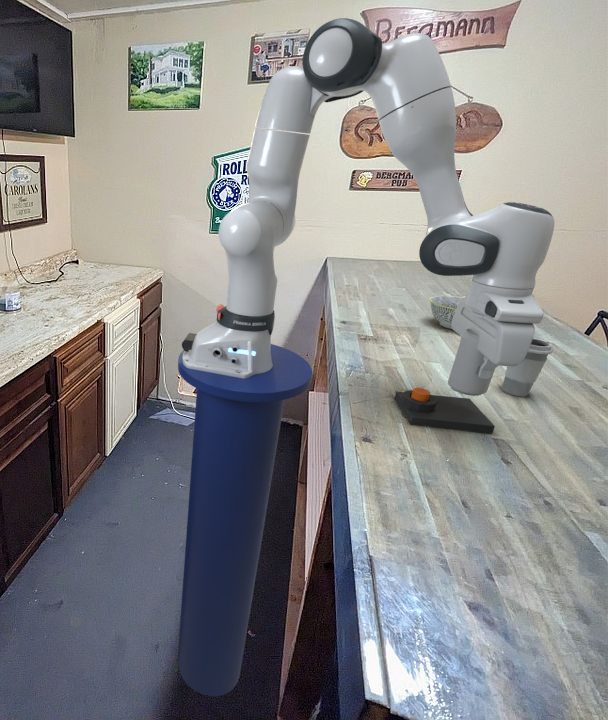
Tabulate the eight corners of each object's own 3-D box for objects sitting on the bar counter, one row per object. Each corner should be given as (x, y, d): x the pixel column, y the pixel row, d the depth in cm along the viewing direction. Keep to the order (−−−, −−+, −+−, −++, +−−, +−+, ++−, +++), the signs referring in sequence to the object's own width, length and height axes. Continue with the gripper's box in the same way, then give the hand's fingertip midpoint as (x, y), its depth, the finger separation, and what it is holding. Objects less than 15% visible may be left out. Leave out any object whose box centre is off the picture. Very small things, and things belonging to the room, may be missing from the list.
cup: (541, 400, 98) (563, 349, 93) (506, 397, 99) (526, 346, 94) (521, 385, 104) (541, 336, 99) (489, 383, 105) (507, 334, 101)
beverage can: (487, 400, 85) (509, 341, 81) (447, 392, 88) (465, 334, 84) (483, 387, 91) (504, 330, 86) (445, 379, 93) (463, 324, 89)
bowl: (480, 322, 144) (487, 299, 141) (489, 338, 131) (497, 314, 128) (421, 315, 151) (427, 293, 148) (424, 329, 138) (431, 306, 135)
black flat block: (408, 424, 89) (412, 408, 88) (392, 397, 99) (395, 383, 98) (492, 433, 86) (498, 417, 85) (467, 405, 96) (472, 390, 95)
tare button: (413, 401, 91) (415, 393, 90) (408, 394, 94) (411, 386, 93) (430, 403, 91) (432, 395, 90) (425, 396, 93) (427, 388, 92)
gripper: (453, 283, 92) (434, 346, 97) (505, 314, 74) (478, 390, 79) (489, 285, 90) (468, 349, 96) (550, 317, 72) (520, 394, 78)
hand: (473, 368), depth 88 cm, fingers closed on beverage can, 6 cm apart
